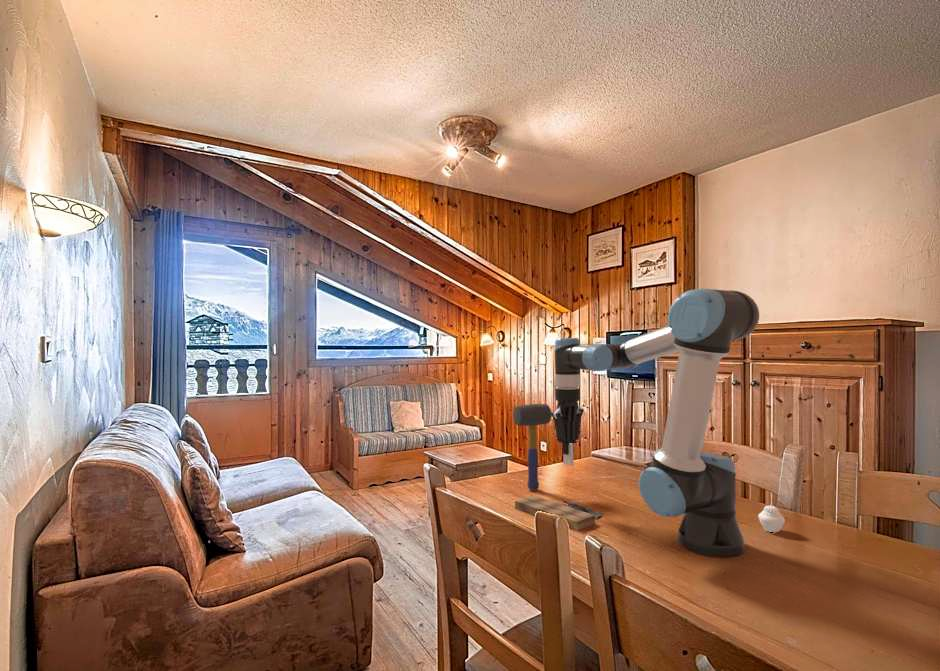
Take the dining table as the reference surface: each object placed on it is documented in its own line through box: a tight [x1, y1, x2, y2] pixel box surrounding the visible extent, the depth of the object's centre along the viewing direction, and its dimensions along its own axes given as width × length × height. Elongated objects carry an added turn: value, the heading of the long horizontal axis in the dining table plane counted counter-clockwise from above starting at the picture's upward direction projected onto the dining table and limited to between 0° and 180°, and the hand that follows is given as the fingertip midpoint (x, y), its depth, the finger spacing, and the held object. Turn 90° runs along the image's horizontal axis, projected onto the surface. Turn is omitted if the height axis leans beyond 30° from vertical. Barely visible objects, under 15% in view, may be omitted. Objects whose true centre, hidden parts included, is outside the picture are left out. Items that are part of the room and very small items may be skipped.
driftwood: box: [562, 500, 603, 520], centre depth 153 cm, size 21×7×2 cm, turn 33°
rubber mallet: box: [512, 403, 552, 492], centre depth 173 cm, size 12×8×30 cm, turn 111°
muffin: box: [758, 505, 786, 533], centre depth 134 cm, size 6×6×7 cm
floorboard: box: [514, 495, 596, 532], centre depth 147 cm, size 24×8×2 cm, turn 40°
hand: (568, 464), depth 152 cm, fingers closed
